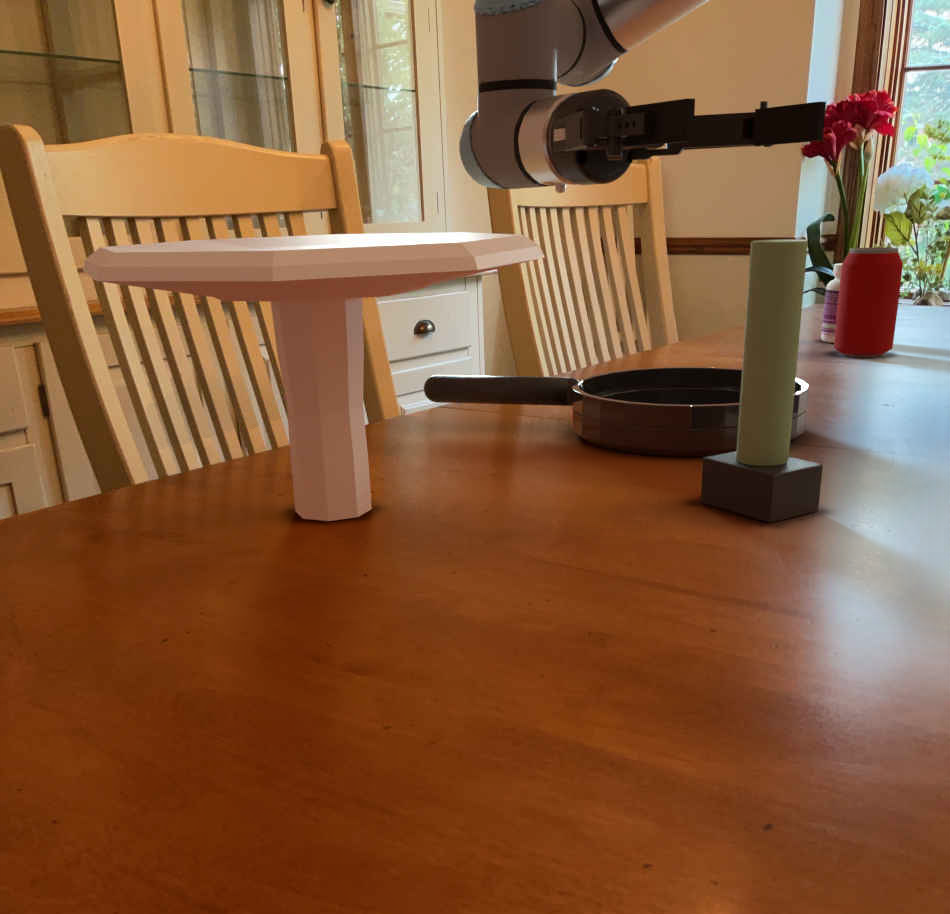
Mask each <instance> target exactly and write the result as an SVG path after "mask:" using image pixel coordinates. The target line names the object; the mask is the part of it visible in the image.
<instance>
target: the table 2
mask: <svg viewBox="0 0 950 914" xmlns="http://www.w3.org/2000/svg"><path fill="white" fill-rule="evenodd" d="M545 258H546V257H545V255H544V252H543V249H542V247H541V245H539V244H538V243H537V242H535V241H534V240H532V239H531V238H529V237H528V236H526V235H525V234H517V233H515V234H514V233H493V232H492V233H491V232H470V231H469V232H468V231H455V232H454V231H449V232H445V231H444V232H390V233H389V232H388V233H387V232H386V233H385V232H383V233H336V234H335V233H333V234H332V233H331V234H309V235H308V234H307V235H286V236H262V237H261V236H259V237H235V238H234V237H232V238H211V239H210V238H209V239H207V238H206V239H193V240H190V239H189V240H178V241H164V242H163V241H162V242H152V243H150V242H149V243H137V244H136V243H135V244H123V245H111V246H110V245H109V246H100V247H98V248H97V249H96V250H95V251H94V252H92V253H91V254H89V256H88V257H86V258H85V260H84V263H83V268H82V272H83V273H84V274H85V275H87V276H88V277H89V278H91V279H92V280H94V281H95V282H99V283H100V282H101V283H109V284H113V285H121V286H127V287H128V286H129V287H137V288H144V289H150V290H158V291H166V292H172V293H180V294H185V295H186V294H187V295H195V296H201V297H209V298H214V299H216V300H219V301H222V302H263V303H265V302H266V303H267V302H270V310H271V314H272V315H271V316H272V324H273V331H274V339H275V345H276V353H277V354H276V355H277V359H278V364H279V369H280V376H281V380H282V382H281V383H282V387H283V392H284V398H285V403H286V411H287V425H288V426H287V427H288V442H289V456H290V457H289V459H290V468H291V469H290V470H291V480H292V488H293V490H292V491H293V498H294V499H293V500H294V510H295V513H297V515H298V516H299V517H300V518H301V519H303V520H312V521H313V520H314V521H322V522H332V521H339V520H347V519H354V518H359V517H361V516H362V515H364V514H366V513H368V512H369V511H371V510H373V507H372V493H371V479H370V478H371V476H370V463H369V462H370V460H369V451H368V441H367V440H368V439H367V432H366V422H365V421H366V420H365V411H364V375H365V373H364V371H365V369H364V368H365V367H364V365H365V343H364V342H365V340H364V309H363V305H364V304H363V299H367V298H382V297H390V296H395V295H399V294H404V293H409V292H415V291H419V290H422V289H425V288H427V287H430V286H432V285H435V284H440V283H444V282H448V281H452V280H457V279H461V278H465V277H469V276H474V275H477V274H478V275H479V274H482V273H485V272H490V271H495V270H499V269H503V268H508V267H511V266H516V265H519V264H525V263H528V262H533V261H537V260H541V259H545Z"/></svg>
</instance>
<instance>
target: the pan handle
mask: <svg viewBox="0 0 950 914" xmlns="http://www.w3.org/2000/svg"><path fill="white" fill-rule="evenodd" d="M578 380H579V379H577V378H575V377H572V376H571V377H570V376H529V375H527V376H525V375H524V376H521V375H518V376H517V375H471V374H469V375H468V374H467V375H465V374H463V375H462V374H433V375H431V376H429V377H428V378H427V379H426V380H425V382H424V385H423V392H424V396H425V397H426V398H427V399H428V400H429V401H430V402H433V403H442V404H443V403H444V404H483V405H484V404H485V405H523V406H528V405H529V406H559V407H560V406H562V407H563V406H564V407H571V385H572V384H575V383H579V382H580V381H578ZM580 390H581V391H583V386H582V384H581V385H580Z"/></svg>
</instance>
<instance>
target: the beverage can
mask: <svg viewBox="0 0 950 914" xmlns="http://www.w3.org/2000/svg"><path fill="white" fill-rule="evenodd" d="M841 263H842V269H841V278H840V287H839V297H838V307H837V317H836V328H835V339H834V343H833V348H834V350H836V351H837V352H838V353H840V355H841V356H845V357H852V358H877V357H882V356H884V355H885V354H886V353H888V352H890V351H891V350H892V349H893V346H894V340H895V334H896V333H895V331H896V323H897V318H898V309H899V302H900V301H899V300H900V293H901V292H900V291H901V285H902V275H903V266H904V263H903V260H902V257H901V255H900V253H899V248H898V247H882V246H881V247H853V248H849V252H848V254H847V255H846V257H845V258H844V260H843V262H841Z"/></svg>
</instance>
